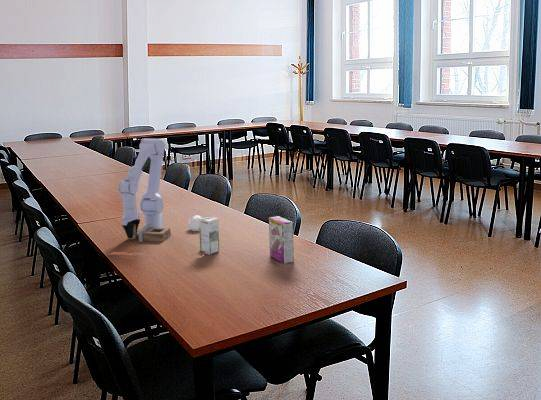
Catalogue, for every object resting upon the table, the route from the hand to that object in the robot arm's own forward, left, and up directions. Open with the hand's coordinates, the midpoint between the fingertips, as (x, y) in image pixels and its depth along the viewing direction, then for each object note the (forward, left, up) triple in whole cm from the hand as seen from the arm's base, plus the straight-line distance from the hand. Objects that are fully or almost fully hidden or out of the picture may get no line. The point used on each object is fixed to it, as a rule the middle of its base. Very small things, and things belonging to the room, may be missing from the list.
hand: (132, 236), depth 250 cm
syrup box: (+13, +40, -2) cm, 42 cm away
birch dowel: (0, 0, -2) cm, 2 cm away
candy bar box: (+19, +71, -2) cm, 74 cm away
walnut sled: (-1, +11, -1) cm, 12 cm away
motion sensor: (-17, +25, -2) cm, 30 cm away
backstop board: (-1, +15, -2) cm, 15 cm away
